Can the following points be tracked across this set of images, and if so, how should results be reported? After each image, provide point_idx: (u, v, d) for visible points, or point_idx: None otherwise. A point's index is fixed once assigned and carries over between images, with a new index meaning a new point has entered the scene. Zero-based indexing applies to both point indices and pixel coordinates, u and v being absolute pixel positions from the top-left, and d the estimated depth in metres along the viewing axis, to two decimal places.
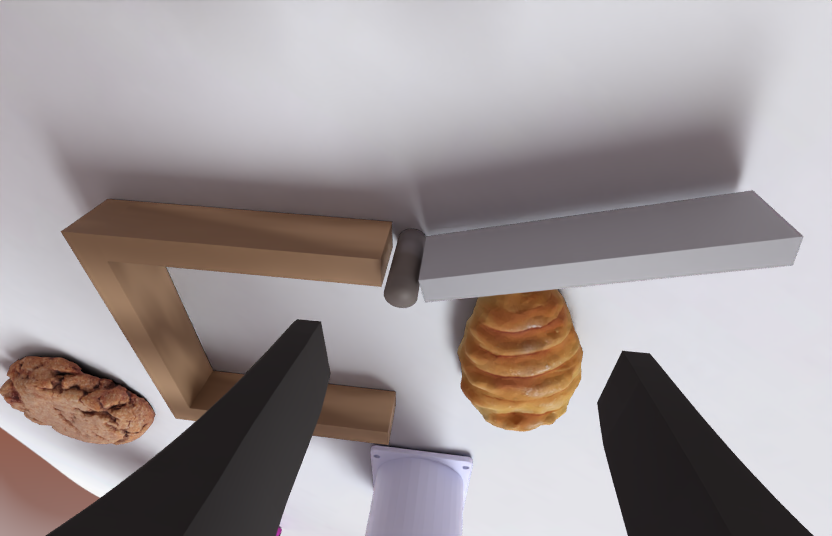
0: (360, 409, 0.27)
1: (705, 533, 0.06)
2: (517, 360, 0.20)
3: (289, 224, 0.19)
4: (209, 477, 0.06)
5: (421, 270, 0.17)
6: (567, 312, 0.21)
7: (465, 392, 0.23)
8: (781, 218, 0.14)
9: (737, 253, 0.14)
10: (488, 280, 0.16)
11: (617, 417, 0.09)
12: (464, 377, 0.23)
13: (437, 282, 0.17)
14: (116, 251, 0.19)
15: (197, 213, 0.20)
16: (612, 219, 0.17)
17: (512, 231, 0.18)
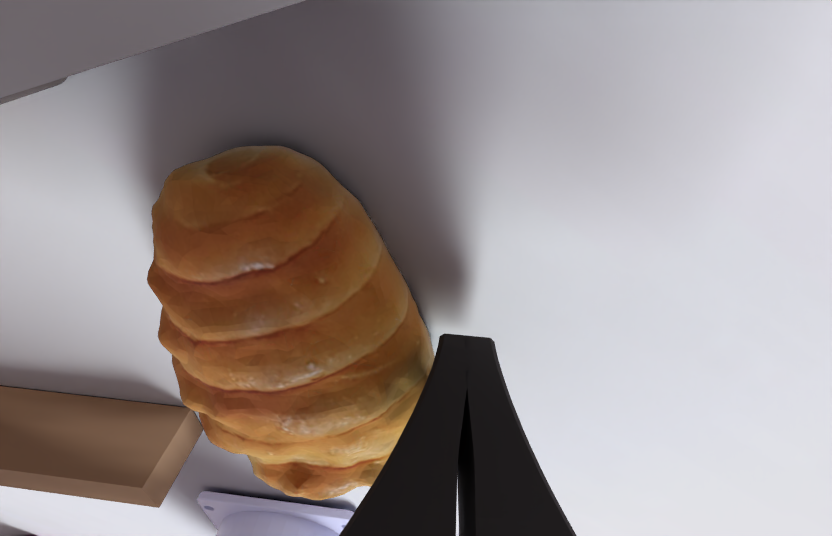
0: (112, 442, 0.15)
1: (471, 502, 0.07)
2: (239, 352, 0.09)
3: None
4: (442, 508, 0.06)
5: None
6: (366, 239, 0.09)
7: None
8: None
9: None
10: None
11: None
12: None
13: None
14: None
15: None
16: None
17: None
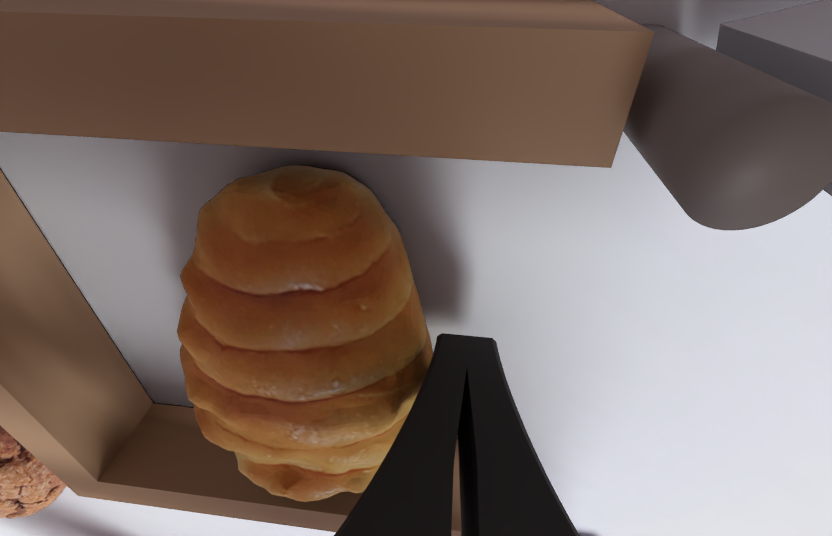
0: None
1: (473, 503, 0.07)
2: (268, 362, 0.09)
3: None
4: (438, 508, 0.06)
5: None
6: (404, 271, 0.09)
7: (195, 413, 0.11)
8: None
9: None
10: None
11: None
12: None
13: None
14: None
15: None
16: None
17: None
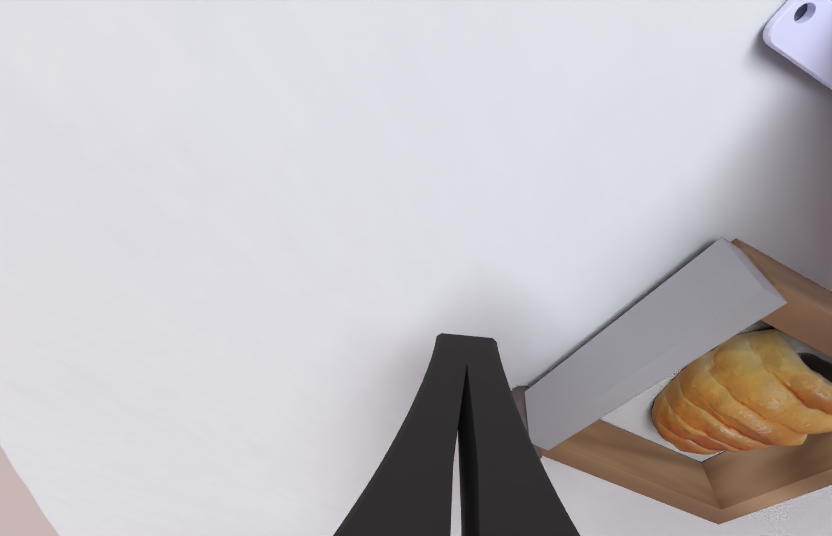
0: None
1: (474, 503, 0.07)
2: (735, 444, 0.22)
3: None
4: (437, 507, 0.06)
5: (529, 431, 0.23)
6: (663, 406, 0.24)
7: None
8: (745, 269, 0.15)
9: (725, 323, 0.16)
10: (571, 422, 0.21)
11: (462, 400, 0.10)
12: None
13: (542, 438, 0.22)
14: (703, 509, 0.26)
15: None
16: (628, 323, 0.19)
17: (570, 365, 0.22)
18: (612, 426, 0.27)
